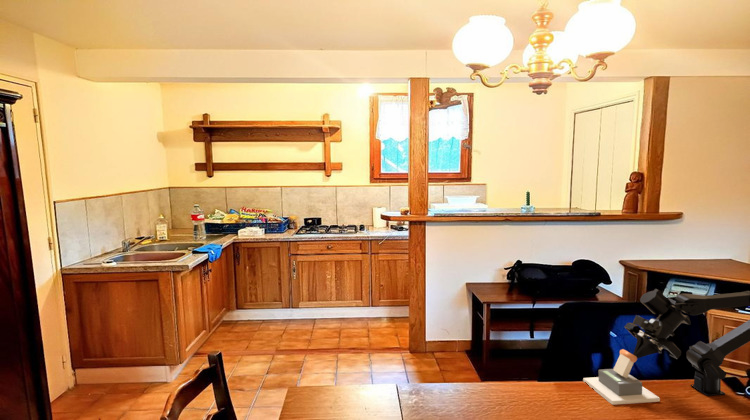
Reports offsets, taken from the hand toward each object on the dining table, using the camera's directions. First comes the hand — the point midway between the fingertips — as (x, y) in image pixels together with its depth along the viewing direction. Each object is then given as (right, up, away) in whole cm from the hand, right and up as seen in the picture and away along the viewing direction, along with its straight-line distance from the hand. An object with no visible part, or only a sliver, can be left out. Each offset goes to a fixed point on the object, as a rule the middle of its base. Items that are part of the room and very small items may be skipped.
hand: (634, 357), depth 130 cm
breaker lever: (-5, -6, 0) cm, 8 cm away
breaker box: (-5, -11, 0) cm, 12 cm away
